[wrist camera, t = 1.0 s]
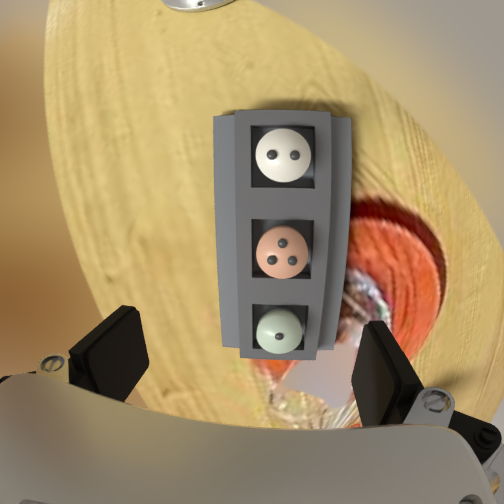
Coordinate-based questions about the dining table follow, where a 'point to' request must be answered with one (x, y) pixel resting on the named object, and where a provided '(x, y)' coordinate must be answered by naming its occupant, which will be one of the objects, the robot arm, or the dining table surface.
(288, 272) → the button three
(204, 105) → the dining table surface
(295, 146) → the button two
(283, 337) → the button one
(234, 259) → the button board
